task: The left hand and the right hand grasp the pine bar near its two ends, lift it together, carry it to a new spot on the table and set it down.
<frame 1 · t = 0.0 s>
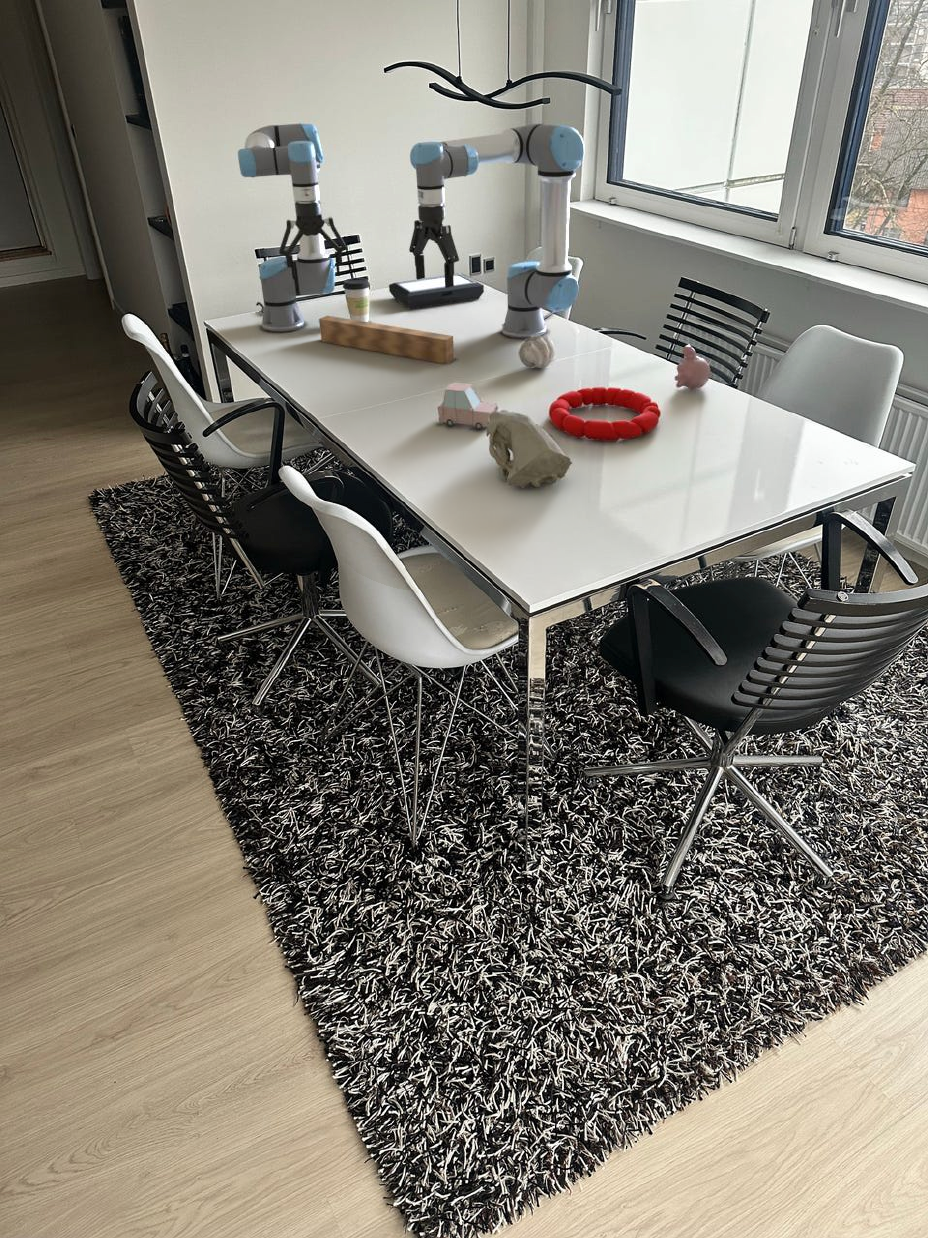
left hand: (316, 276, 273), 28 cm above the table, tool pointing down, fingers open, 13 cm apart
right hand: (434, 282, 263), 28 cm above the table, tool pointing down, fingers open, 13 cm apart
decorative ring: (603, 422, 244), on the table
figurine: (690, 388, 263), on the table
seashell: (537, 367, 282), on the table
bar: (385, 350, 301), on the table
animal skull: (520, 470, 220), on the table
toy car: (468, 423, 246), on the table
electronic device: (436, 299, 351), on the table
coffee cup: (360, 323, 327), on the table
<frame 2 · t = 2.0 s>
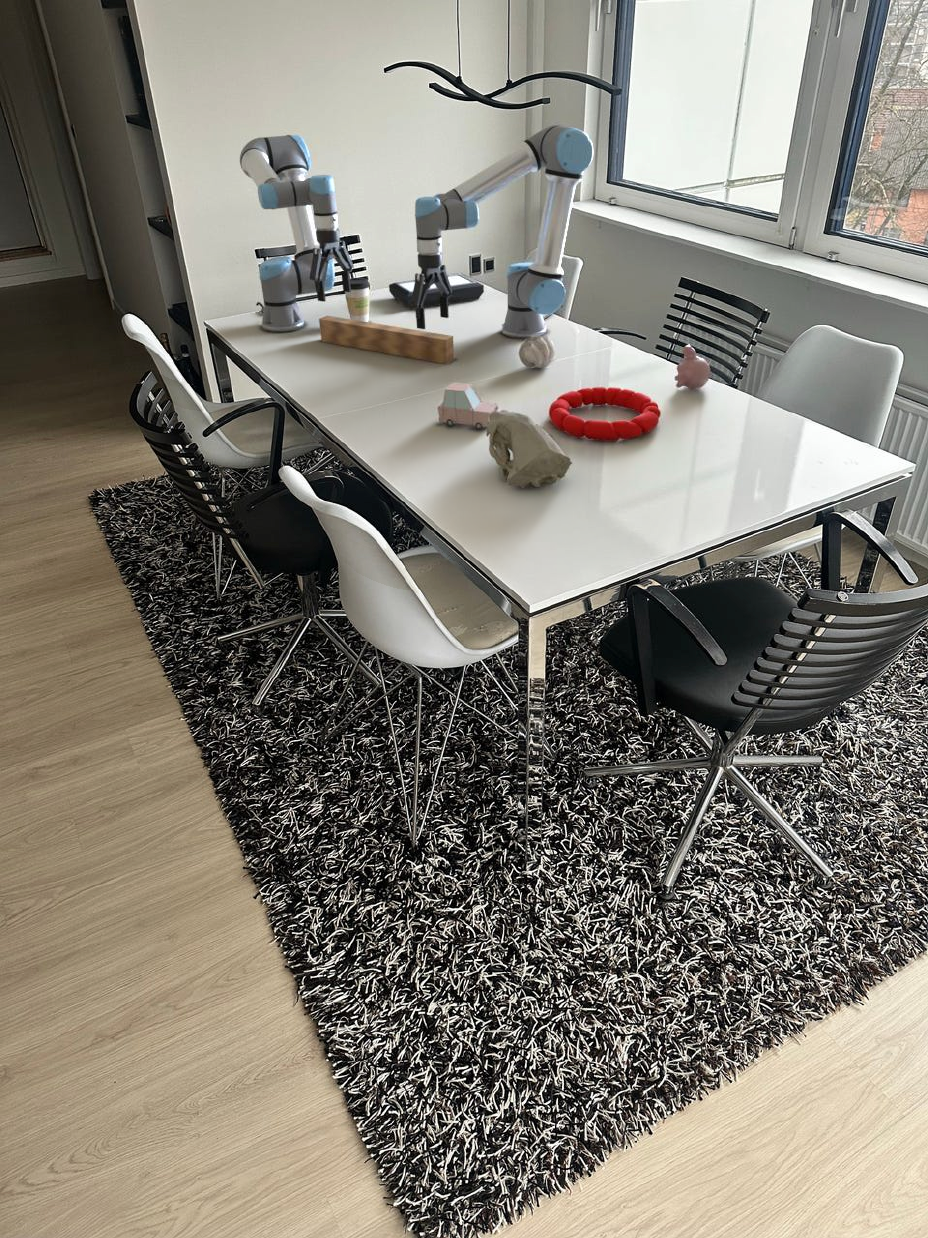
left hand: (334, 296, 300), 16 cm above the table, tool pointing down, fingers open, 13 cm apart
right hand: (433, 322, 285), 12 cm above the table, tool pointing down, fingers open, 13 cm apart
nothing on the table moved.
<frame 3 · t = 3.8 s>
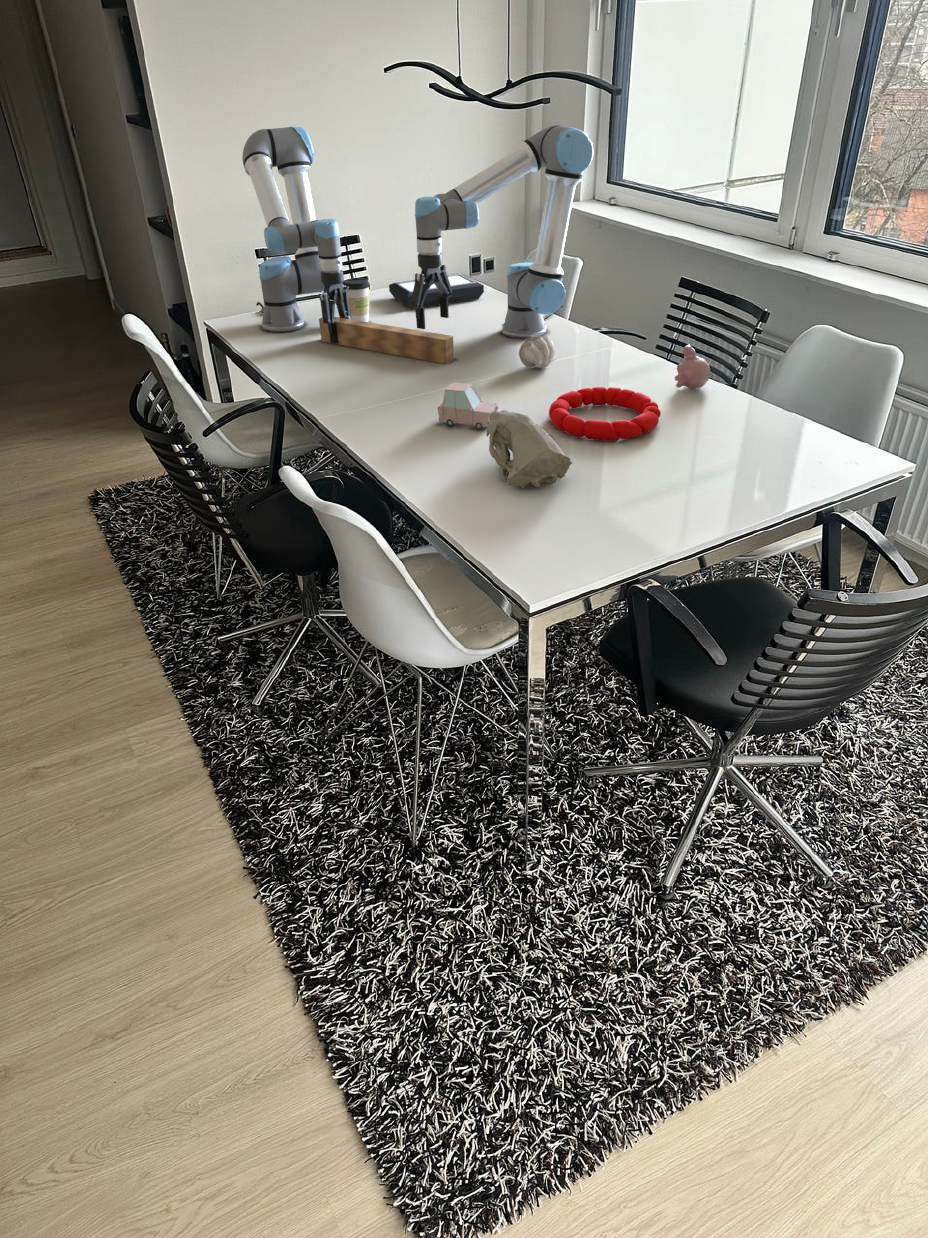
left hand: (339, 340, 309), 1 cm above the table, tool pointing down, fingers closed on bar, 5 cm apart
right hand: (433, 322, 285), 12 cm above the table, tool pointing down, fingers open, 13 cm apart
bar: (385, 350, 301), on the table, touching left hand
everything else where it was.
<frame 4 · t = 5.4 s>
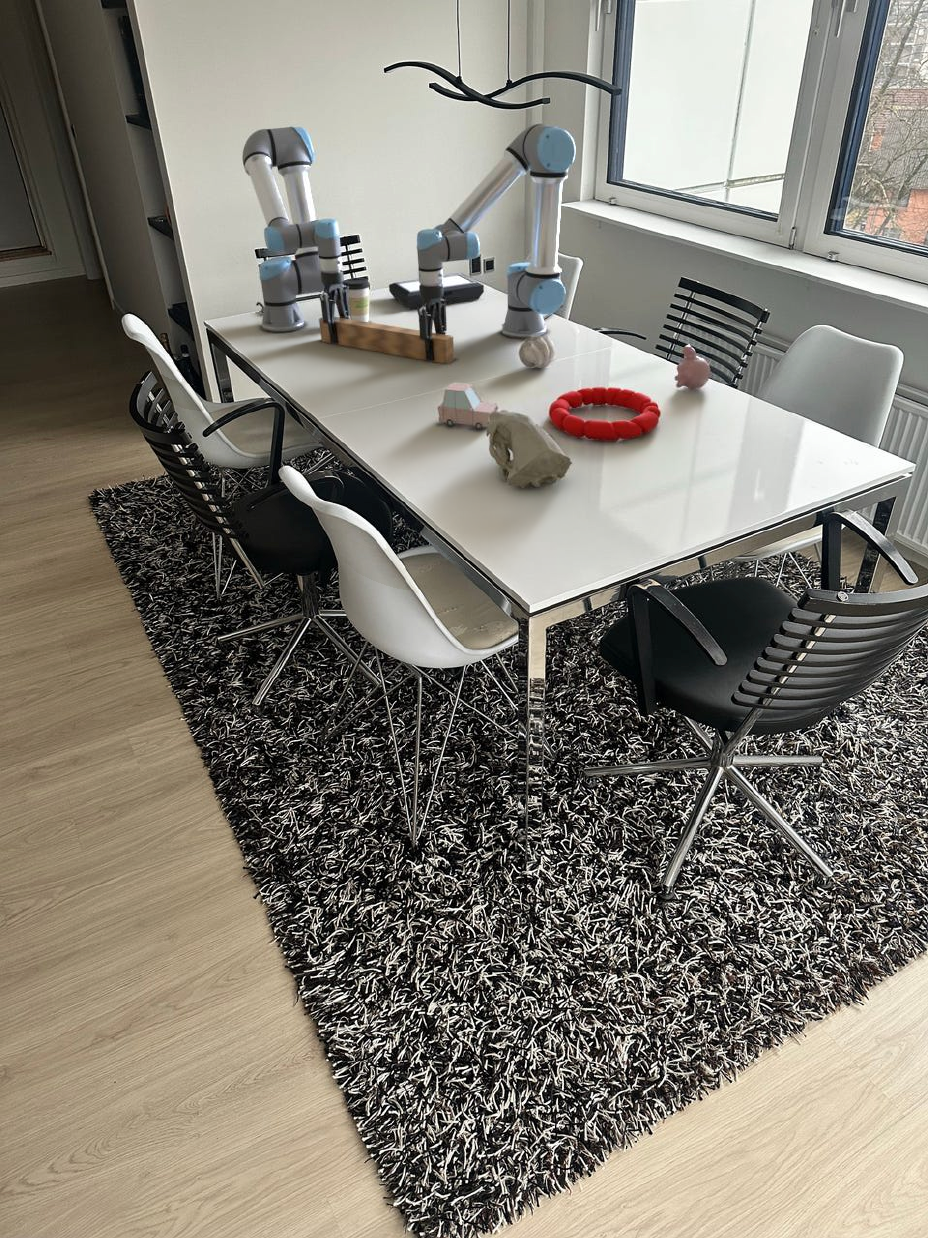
left hand: (339, 340, 309), 1 cm above the table, tool pointing down, fingers closed on bar, 5 cm apart
right hand: (434, 357, 291), 1 cm above the table, tool pointing down, fingers closed on bar, 5 cm apart
bar: (385, 350, 301), on the table, touching left hand, right hand
everything else where it was.
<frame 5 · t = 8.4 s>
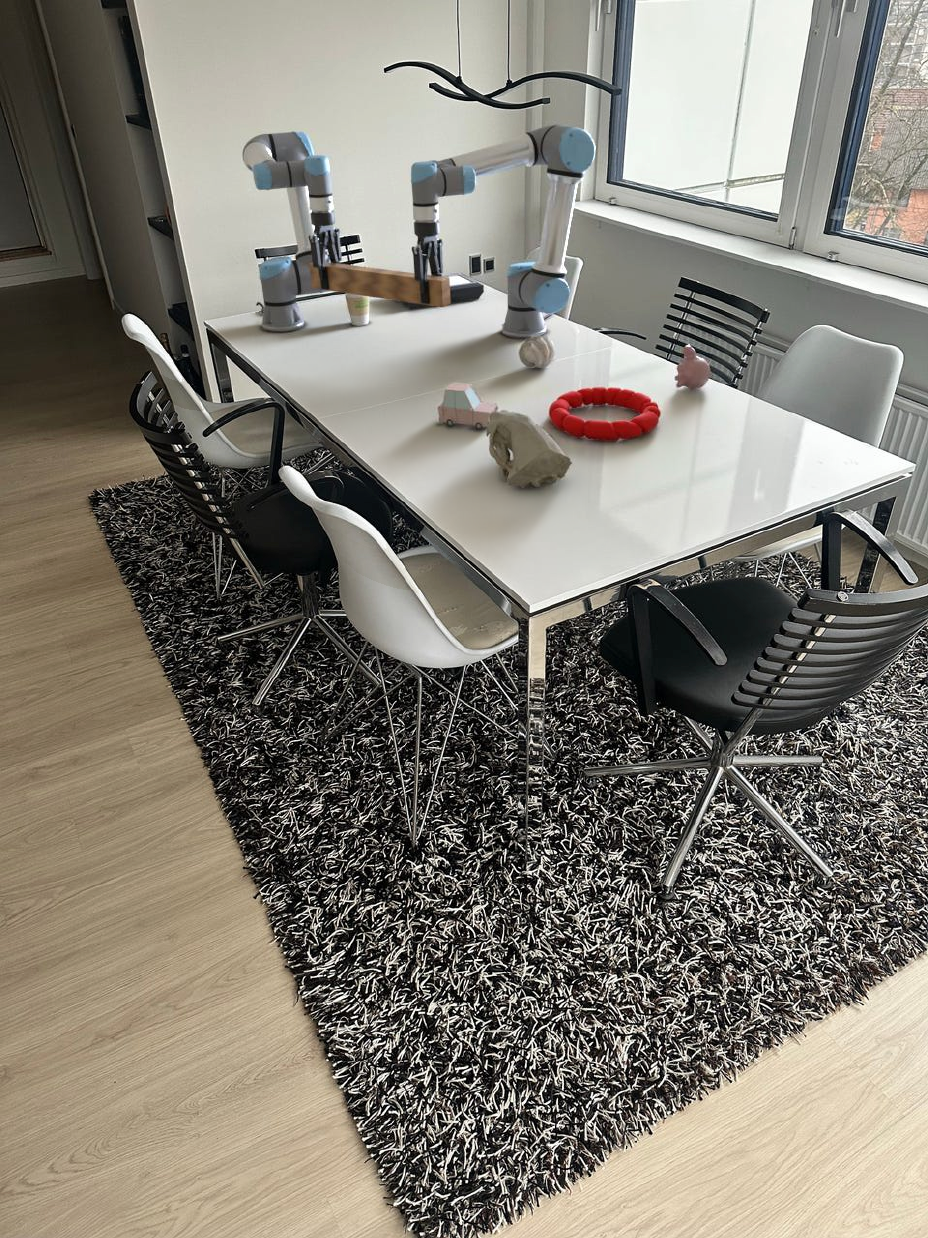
left hand: (330, 286, 295), 20 cm above the table, tool pointing down, fingers closed on bar, 5 cm apart
right hand: (430, 300, 277), 20 cm above the table, tool pointing down, fingers closed on bar, 5 cm apart
bar: (378, 295, 286), point 19 cm above the table, touching left hand, right hand
everything else where it was.
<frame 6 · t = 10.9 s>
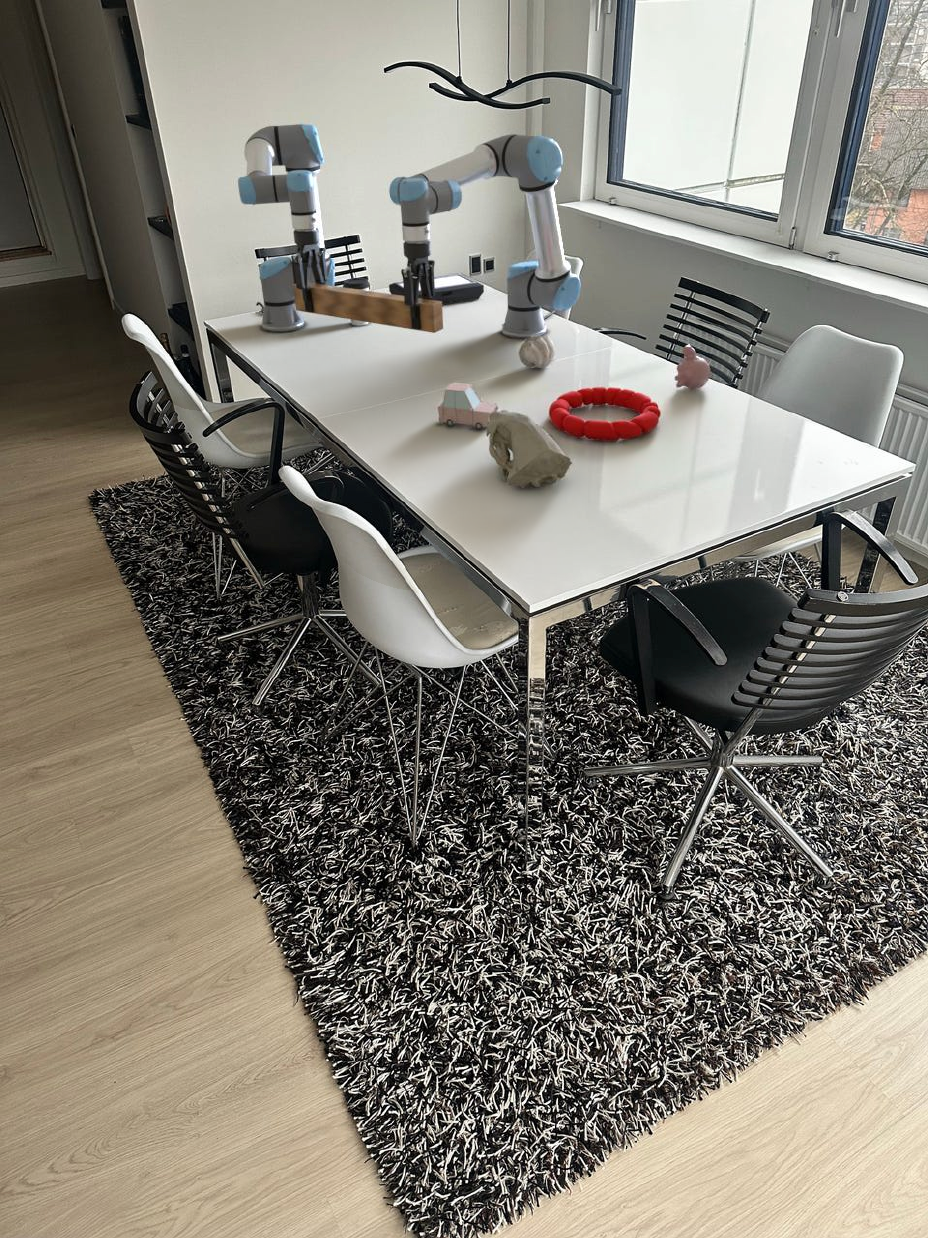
left hand: (315, 308, 277), 19 cm above the table, tool pointing down, fingers closed on bar, 5 cm apart
right hand: (421, 325, 259), 19 cm above the table, tool pointing down, fingers closed on bar, 5 cm apart
bar: (366, 319, 268), point 18 cm above the table, touching left hand, right hand
everything else where it was.
when the left hand's fingers open (1 cm above the table, at t = 13.0 s): bar stays where it is, on the table.
when the right hand's fingers open (1 cm above the table, at t = 13.0 s): bar stays where it is, on the table.
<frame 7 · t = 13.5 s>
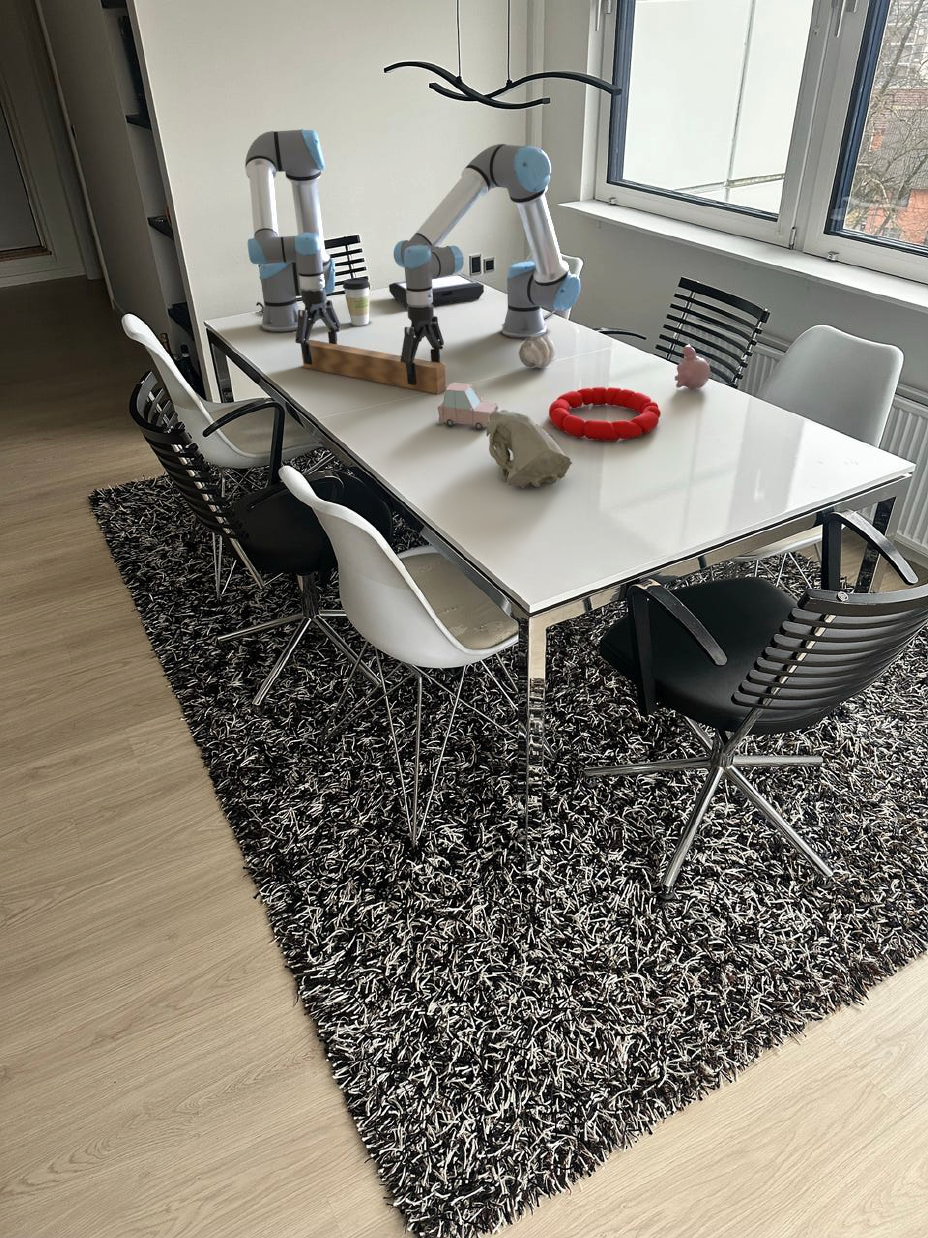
left hand: (321, 357, 286), 3 cm above the table, tool pointing down, fingers open, 12 cm apart
right hand: (424, 377, 268), 3 cm above the table, tool pointing down, fingers open, 12 cm apart
bar: (372, 377, 279), on the table
everything else where it was.
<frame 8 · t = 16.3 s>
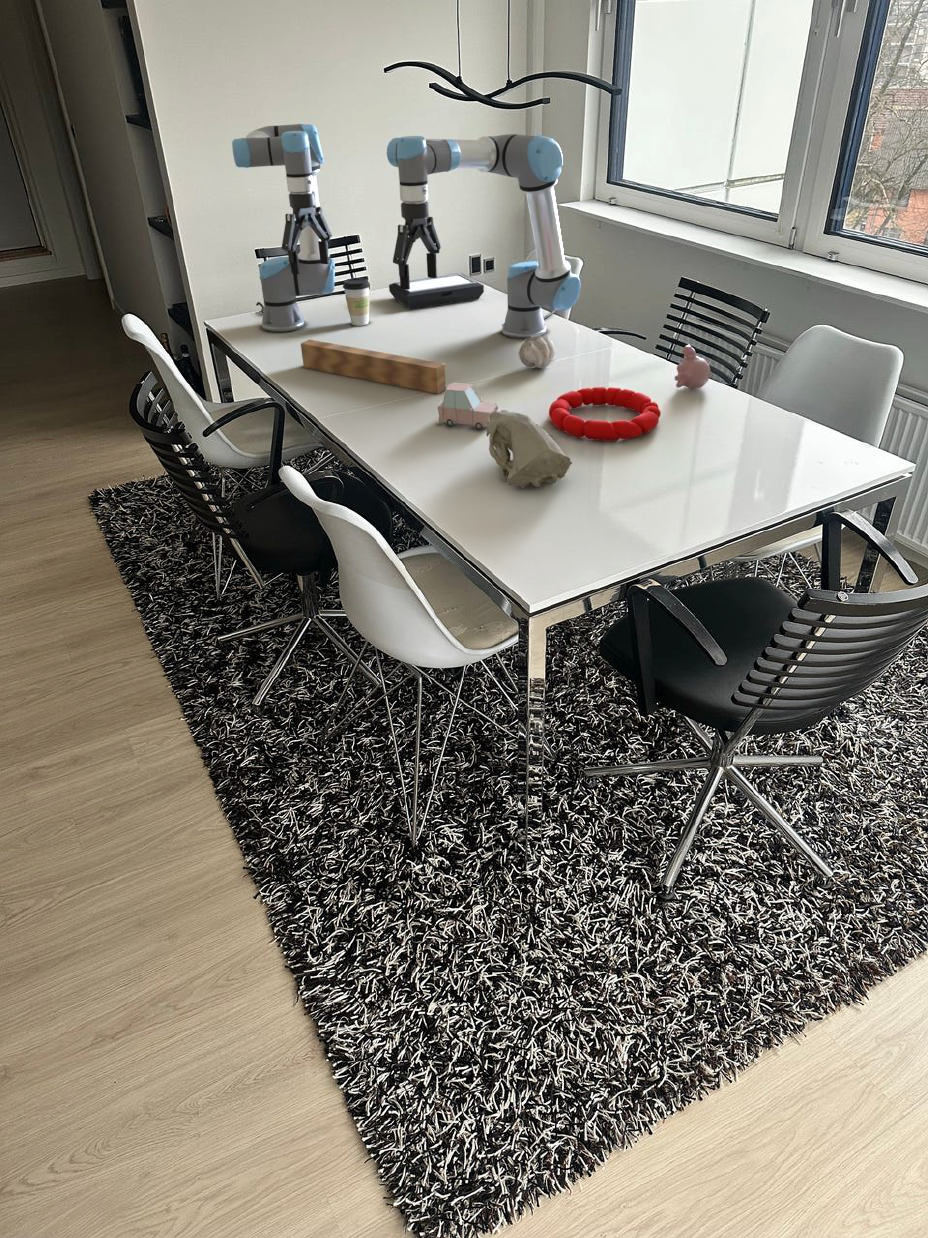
left hand: (310, 268, 270), 31 cm above the table, tool pointing down, fingers open, 13 cm apart
right hand: (419, 283, 252), 31 cm above the table, tool pointing down, fingers open, 13 cm apart
nothing on the table moved.
at the end: bar inside the target area (0.1 cm from its centre), on the table; bar tilted 0°; bar never tilted more than 1° during the clip; both hands held the bar at the same time; the left hand is holding nothing; the right hand is holding nothing; bar at rest at the end (0.0 cm/s) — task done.
